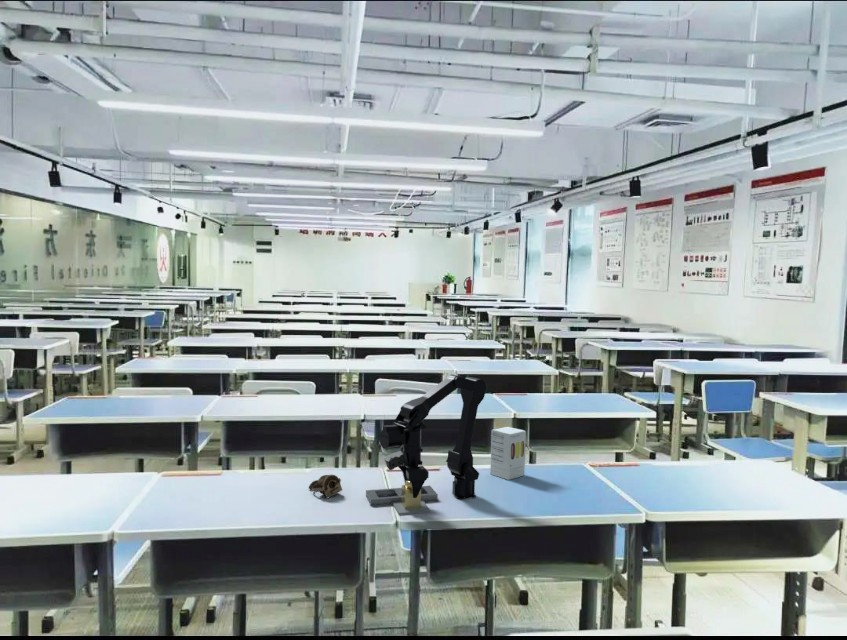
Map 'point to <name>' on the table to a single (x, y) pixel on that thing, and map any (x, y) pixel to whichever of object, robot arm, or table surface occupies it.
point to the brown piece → (327, 485)
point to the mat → (403, 511)
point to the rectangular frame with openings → (397, 495)
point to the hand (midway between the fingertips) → (411, 492)
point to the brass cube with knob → (410, 497)
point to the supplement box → (508, 452)
